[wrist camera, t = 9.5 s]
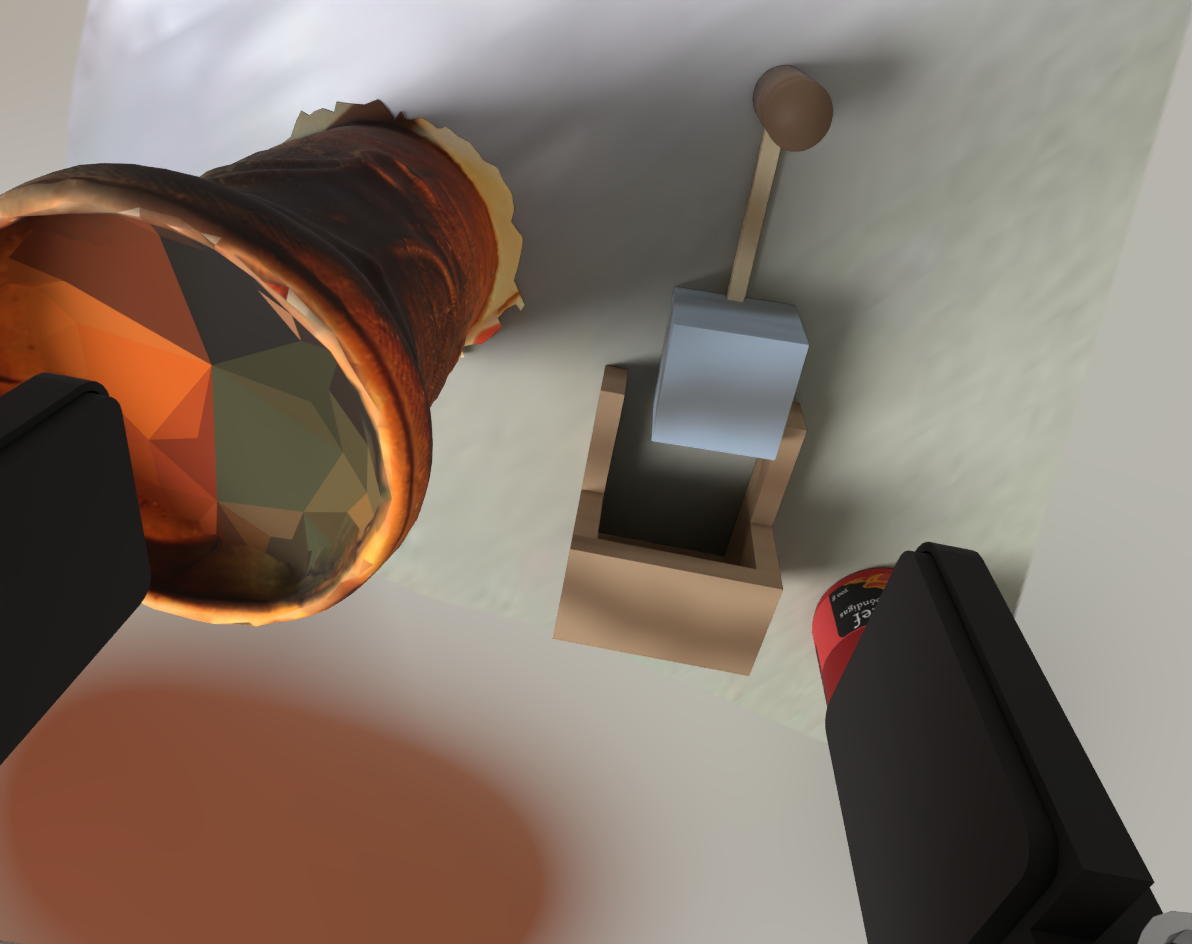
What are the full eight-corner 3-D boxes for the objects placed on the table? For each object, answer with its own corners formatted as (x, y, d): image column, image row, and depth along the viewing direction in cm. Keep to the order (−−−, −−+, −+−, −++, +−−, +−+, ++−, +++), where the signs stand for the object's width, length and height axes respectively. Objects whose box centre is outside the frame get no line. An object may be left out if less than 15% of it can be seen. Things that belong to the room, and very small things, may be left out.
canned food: (957, 571, 46) (1027, 719, 37) (916, 667, 50) (970, 822, 41) (827, 555, 46) (864, 698, 37) (797, 652, 51) (824, 802, 41)
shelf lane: (605, 365, 41) (590, 442, 34) (799, 403, 41) (823, 487, 34) (571, 543, 47) (552, 638, 40) (738, 575, 48) (749, 675, 41)
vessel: (413, 433, 44) (238, 701, 27) (200, 246, 40) (-169, 424, 23) (595, 263, 38) (518, 468, 21) (367, 20, 34) (37, 30, 17)
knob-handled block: (718, 54, 33) (725, 67, 28) (858, 76, 33) (891, 93, 28) (654, 394, 42) (650, 451, 37) (765, 412, 42) (777, 471, 37)
